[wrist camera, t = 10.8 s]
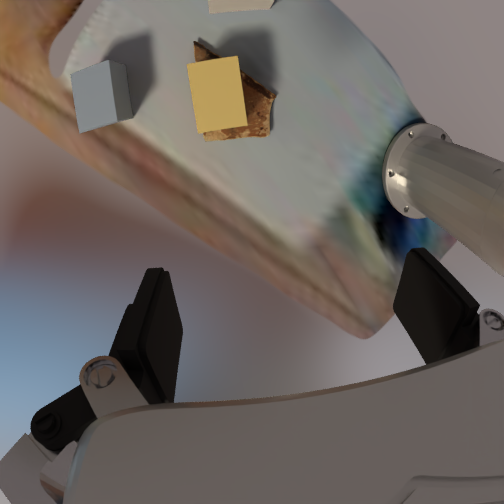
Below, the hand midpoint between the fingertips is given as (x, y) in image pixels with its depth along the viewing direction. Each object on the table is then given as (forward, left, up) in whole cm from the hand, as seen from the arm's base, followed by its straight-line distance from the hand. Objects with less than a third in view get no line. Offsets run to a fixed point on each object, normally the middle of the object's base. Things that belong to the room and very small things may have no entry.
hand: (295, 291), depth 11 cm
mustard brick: (+2, -8, -20) cm, 22 cm away
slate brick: (+13, -10, -22) cm, 27 cm away
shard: (+2, -7, -22) cm, 23 cm away
